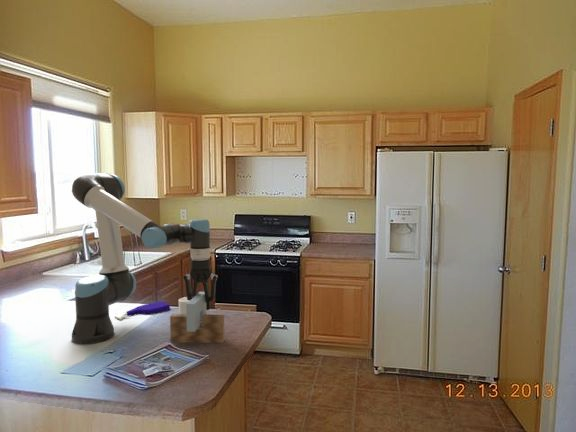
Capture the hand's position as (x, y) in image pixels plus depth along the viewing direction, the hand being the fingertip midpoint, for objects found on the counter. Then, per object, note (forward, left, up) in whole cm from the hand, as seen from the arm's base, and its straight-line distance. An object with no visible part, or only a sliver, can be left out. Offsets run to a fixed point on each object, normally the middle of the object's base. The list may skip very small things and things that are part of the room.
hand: (201, 317), depth 165 cm
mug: (-8, +14, -8) cm, 18 cm away
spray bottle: (-36, +29, -8) cm, 46 cm away
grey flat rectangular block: (0, -5, -1) cm, 6 cm away
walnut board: (0, -5, -7) cm, 9 cm away
